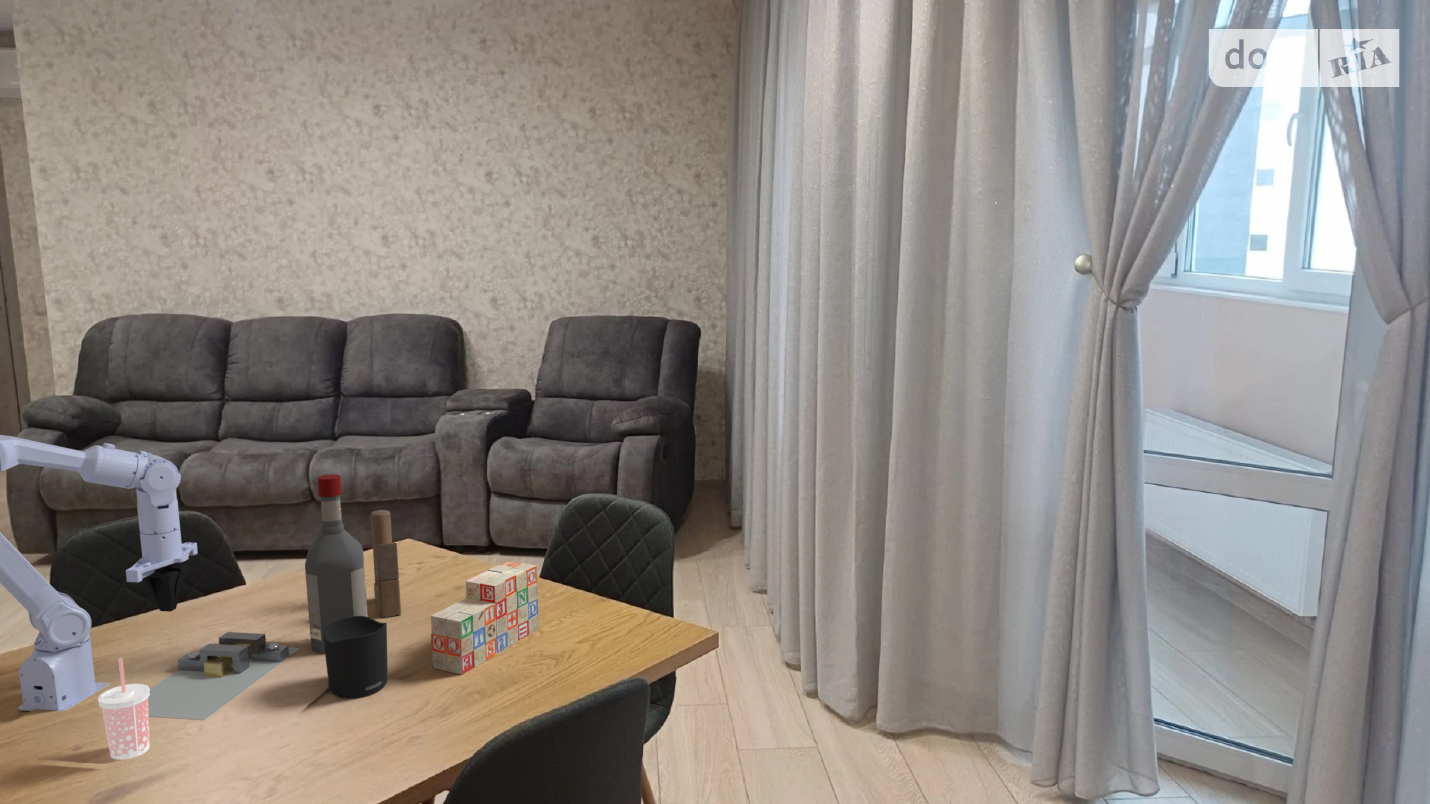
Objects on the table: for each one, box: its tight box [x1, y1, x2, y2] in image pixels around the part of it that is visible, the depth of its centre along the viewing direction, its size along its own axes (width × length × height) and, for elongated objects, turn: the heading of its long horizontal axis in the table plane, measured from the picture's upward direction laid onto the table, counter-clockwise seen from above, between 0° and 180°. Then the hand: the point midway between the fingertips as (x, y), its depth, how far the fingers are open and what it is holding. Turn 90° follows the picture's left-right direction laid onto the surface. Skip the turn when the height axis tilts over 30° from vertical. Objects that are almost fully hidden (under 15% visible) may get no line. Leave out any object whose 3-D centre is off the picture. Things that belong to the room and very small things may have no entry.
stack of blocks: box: [430, 561, 540, 675], centre depth 173 cm, size 21×6×12 cm, turn 155°
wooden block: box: [370, 509, 402, 618], centre depth 192 cm, size 4×11×18 cm, turn 25°
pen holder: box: [323, 616, 389, 699], centre depth 159 cm, size 9×9×10 cm
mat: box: [148, 647, 301, 721], centre depth 161 cm, size 26×15×1 cm, turn 172°
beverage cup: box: [97, 657, 151, 761], centre depth 138 cm, size 6×6×14 cm
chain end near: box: [177, 643, 250, 674], centre depth 164 cm, size 2×11×4 cm, turn 82°
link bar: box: [204, 644, 251, 677], centre depth 167 cm, size 11×3×2 cm, turn 172°
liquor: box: [304, 473, 369, 655], centre depth 173 cm, size 9×9×30 cm
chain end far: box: [218, 631, 290, 663], centre depth 169 cm, size 2×11×4 cm, turn 82°
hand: (168, 609), depth 165 cm, fingers closed
